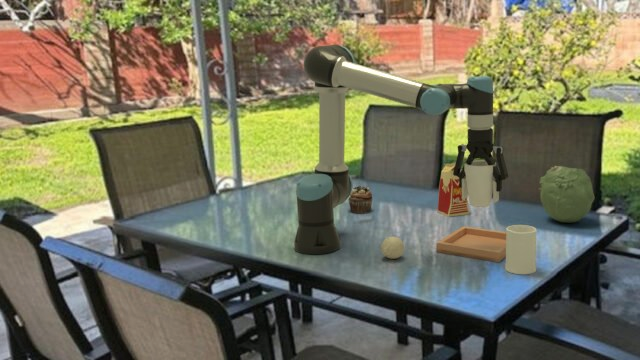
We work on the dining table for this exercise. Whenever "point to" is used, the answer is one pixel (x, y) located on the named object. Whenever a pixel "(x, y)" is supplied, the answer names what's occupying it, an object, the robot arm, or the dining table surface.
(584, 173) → the cabbage
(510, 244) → the mug
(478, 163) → the foam cup
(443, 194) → the milk carton
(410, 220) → the dining table surface
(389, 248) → the beige ball
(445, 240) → the tray
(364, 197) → the cupcake
